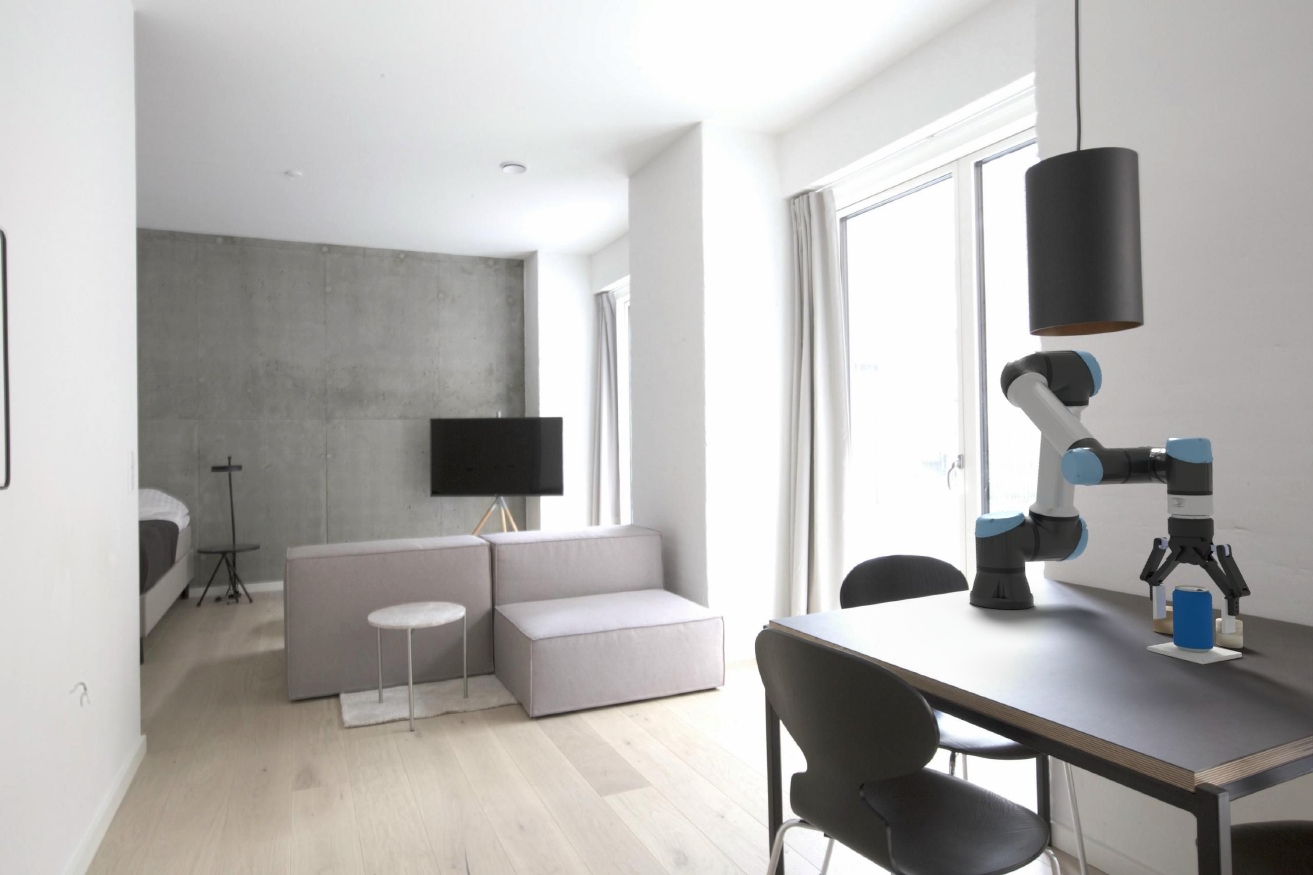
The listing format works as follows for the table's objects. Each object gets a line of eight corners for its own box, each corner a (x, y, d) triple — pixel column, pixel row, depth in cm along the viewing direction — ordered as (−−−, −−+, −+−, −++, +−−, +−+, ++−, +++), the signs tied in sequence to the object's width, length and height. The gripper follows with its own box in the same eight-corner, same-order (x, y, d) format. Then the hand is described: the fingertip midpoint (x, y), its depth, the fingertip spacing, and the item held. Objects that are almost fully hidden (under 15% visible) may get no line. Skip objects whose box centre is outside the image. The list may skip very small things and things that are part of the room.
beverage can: (1219, 654, 153) (1218, 591, 153) (1182, 653, 154) (1180, 590, 154) (1204, 645, 159) (1202, 585, 159) (1167, 644, 161) (1166, 584, 161)
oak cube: (1153, 631, 175) (1152, 608, 175) (1163, 627, 178) (1162, 605, 178) (1178, 635, 171) (1178, 612, 171) (1188, 631, 174) (1188, 608, 174)
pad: (1147, 650, 160) (1147, 646, 160) (1185, 643, 164) (1185, 639, 164) (1202, 664, 150) (1202, 659, 150) (1241, 656, 154) (1241, 652, 154)
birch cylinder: (1210, 643, 164) (1210, 619, 164) (1227, 641, 165) (1226, 617, 165) (1231, 648, 159) (1231, 623, 159) (1248, 647, 161) (1248, 622, 161)
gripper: (1118, 512, 167) (1121, 614, 167) (1244, 523, 144) (1247, 641, 144) (1144, 510, 170) (1146, 610, 170) (1271, 520, 147) (1274, 636, 147)
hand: (1192, 625), depth 157 cm, fingers open, 13 cm apart
